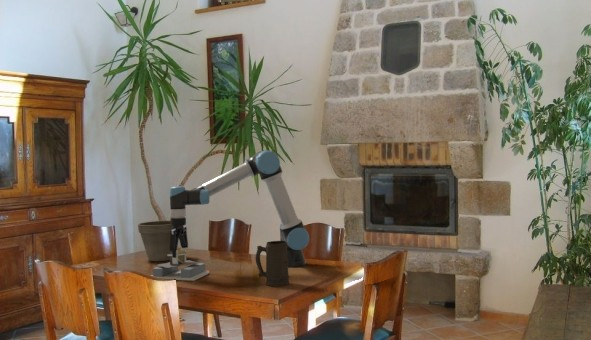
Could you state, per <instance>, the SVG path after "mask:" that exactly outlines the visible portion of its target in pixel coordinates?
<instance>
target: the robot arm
mask: <svg viewBox="0 0 591 340" xmlns="http://www.w3.org/2000/svg"><path fill="white" fill-rule="evenodd" d="M282 173H283V170H282V167H281V160H280V158H279V156H278V155H277V153H275V152H274V151H272V150H268V149H267V150H261V151H258V152H257V153H255V154H254V155H252V156H251V157H249V158H247V159H245V160H244V163H242V164H240V165H238V166H235V167H234V168H232V169H230V170H228V171H226V172H224V173H222V174H220V175H218V176H216V177H214V178H212V179H211V180H209V181H206V182H205V183H203V184H201V185H199V186H196V187H194V188H191V189H188V190H187V189H186V187H185V186H183V185H182V186H171V187H170V189H169V205H170V210H169V213H170V217H171V218H170V220H171V225H172V226H174V227H173V230H170V251H172V264H178V246H179V243H180V250H179V251H181V250H184V252H186V253H187V248H189V243H188V241H189V240H188V233H187V230H188V227H187V226H186V225H187V218H186V216H187V211H186V208H187V207H186V206H197V205H202V206H204V205H208V204H209V203H210V197H212V196H214V195H216V194H218V193H220V192H222V191H224V190H226V189H228V188H230V187H232V186H234V185H235V184H237V183H239V182H241V181H243V180H246V179H248V178H250V177H255V176H257V175H259V177H260V179H261V181H262V182H265V184H266V186H267V187H266V188H267V189H268V192H269V195H270V196H271V200H272V202H273V205H274V207H275V209H276V213H277V214H278V218H279V219H280V222H281V223H280V225H279V234H280V235H279V237H280V240H279V241H286V242H287V245H288V246H287V260H288V268H295V267H303V266H305V265H306V258H305V255H304V253H303V250H304V249H305V248H306V247H307V246H308V245H309V242H310V234H309V231H308V230H307V229H306V228H305V226H304V223H303V221H302V219H299V218H298V216H297V213H296V210H295V209H294V206H293V204H292V201H291V198H290V195H289V192H288V190H287V187H286V185H285V183H284V180H283V178H282ZM184 259H185V261H187V254H186V255H184Z"/></svg>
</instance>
